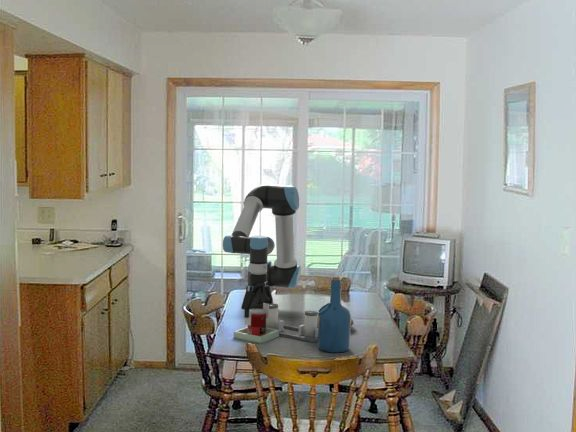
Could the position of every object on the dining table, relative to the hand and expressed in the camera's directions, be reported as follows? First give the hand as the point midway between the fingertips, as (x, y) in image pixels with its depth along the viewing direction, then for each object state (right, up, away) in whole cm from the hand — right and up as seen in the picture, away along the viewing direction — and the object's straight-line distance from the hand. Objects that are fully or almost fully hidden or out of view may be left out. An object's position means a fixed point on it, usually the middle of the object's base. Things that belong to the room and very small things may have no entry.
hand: (256, 321), depth 294 cm
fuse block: (+15, -6, +9) cm, 18 cm away
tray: (0, -7, 0) cm, 7 cm away
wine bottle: (+32, -9, -12) cm, 35 cm away
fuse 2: (+23, -7, +4) cm, 24 cm away
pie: (+32, -6, +20) cm, 38 cm away
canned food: (0, -6, 0) cm, 6 cm away
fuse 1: (+6, -6, +14) cm, 16 cm away
